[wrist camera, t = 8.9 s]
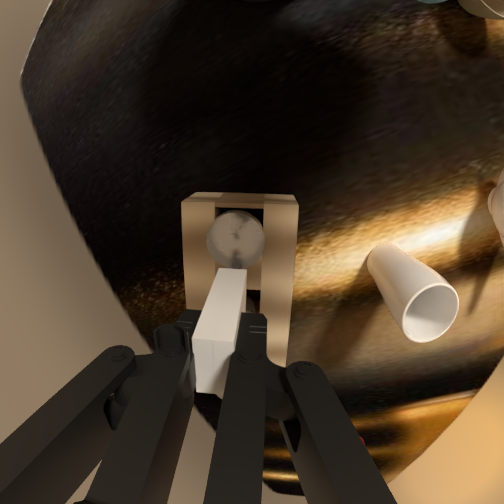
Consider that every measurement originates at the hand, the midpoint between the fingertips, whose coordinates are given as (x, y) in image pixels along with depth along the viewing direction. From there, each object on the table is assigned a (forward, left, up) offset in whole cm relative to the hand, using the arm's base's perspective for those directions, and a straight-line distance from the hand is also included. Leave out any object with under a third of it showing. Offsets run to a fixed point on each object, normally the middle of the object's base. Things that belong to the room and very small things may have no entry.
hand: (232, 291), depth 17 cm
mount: (+10, -1, -23) cm, 25 cm away
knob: (+1, -1, -21) cm, 21 cm away
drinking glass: (+6, +18, -23) cm, 30 cm away
